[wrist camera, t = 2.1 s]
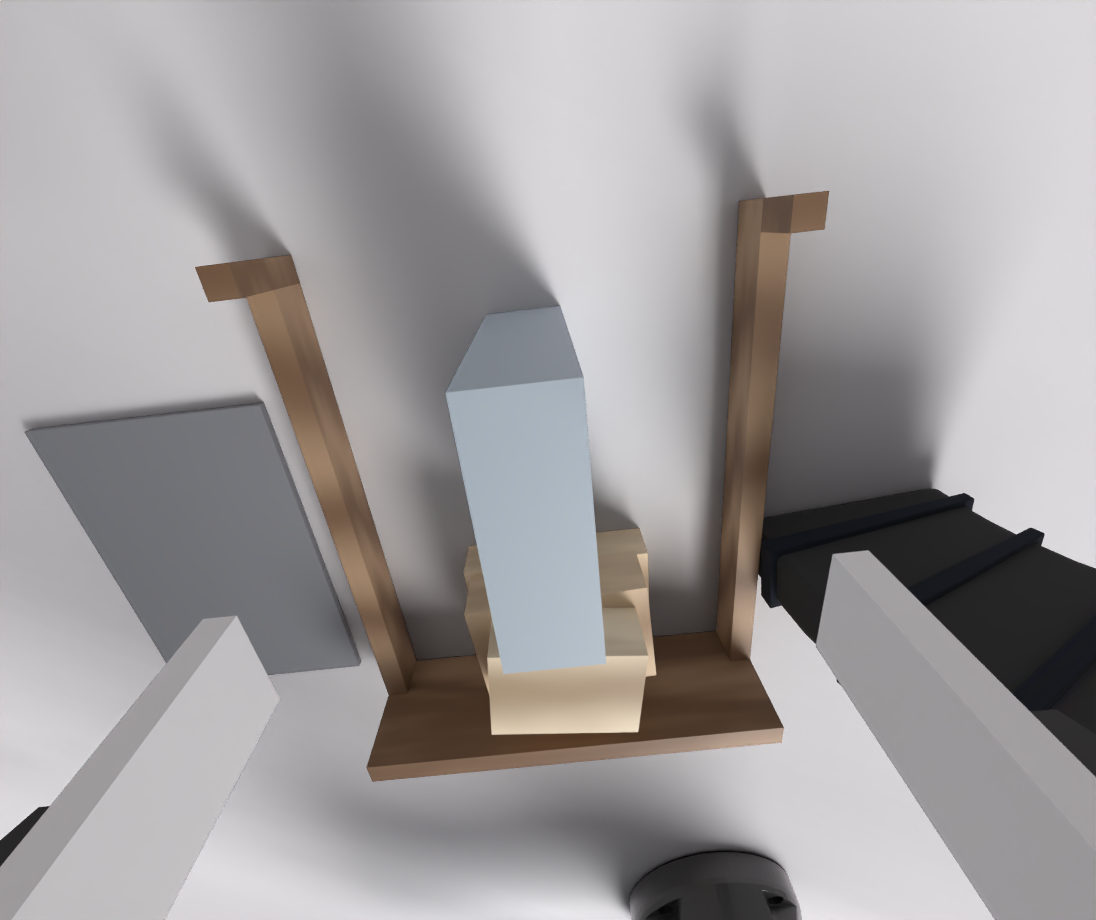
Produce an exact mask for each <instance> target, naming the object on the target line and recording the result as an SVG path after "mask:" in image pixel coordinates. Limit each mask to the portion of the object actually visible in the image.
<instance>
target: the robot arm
mask: <svg viewBox="0 0 1096 920" xmlns="http://www.w3.org/2000/svg"><path fill="white" fill-rule="evenodd" d="M816 648H817V649H818V651H819V652H820V654H821V655H822V657H823V658H824V660H825V661H826V663H827V665H828V666H829V668H830V669H831V671H832V672H833V674H834V675H835V677H836V678H837V680H838V681H839V683H840V684H841V686H842V687H843V689H844V690H845V692H846V693H847V695H848V697H849V698H850V700H851V701H852V703H853V704H854V706H855V707H856V709H857V710H858V712H859V713H860V715H861V716H862V718H863V719H864V721H865V722H866V724H867V725H868V727H869V729H870V730H871V732H872V733H873V735H874V736H875V738H876V739H877V741H878V742H879V744H880V745H881V747H882V748H883V750H884V751H885V753H886V754H887V756H888V757H889V759H890V761H891V762H892V764H893V765H894V767H895V768H896V770H897V771H898V773H899V774H900V776H901V777H902V779H903V780H904V782H905V783H906V785H907V786H908V788H909V790H910V791H911V793H912V794H913V796H914V797H915V799H916V800H917V802H918V803H919V805H920V806H921V808H922V809H923V811H924V812H925V814H926V815H927V817H928V818H929V820H930V822H931V823H932V825H933V826H934V828H935V829H936V831H937V832H938V834H939V835H940V837H941V838H942V840H943V841H944V843H945V844H946V846H947V847H948V849H949V850H950V852H951V854H952V855H953V857H954V858H955V860H956V861H957V863H958V864H959V866H960V867H961V869H962V870H963V872H964V873H965V875H966V876H967V878H968V879H969V881H970V882H971V884H972V886H973V887H974V889H975V890H976V892H977V893H978V895H979V896H980V898H981V899H982V901H983V902H984V904H985V905H986V907H987V908H988V910H989V911H990V913H991V914H992V916H993V918H994V919H995V920H1096V734H1095V733H1093V732H1091V731H1090V730H1088V729H1087V728H1085V727H1083V726H1082V725H1080V724H1079V723H1077V722H1076V721H1074V720H1072V719H1071V718H1069V717H1068V716H1066V715H1064V714H1063V713H1061V712H1060V711H1058V710H1057V709H1053V710H1042V711H1032V712H1030V711H1029V710H1028V709H1027V708H1026V707H1025V706H1024V705H1023V704H1022V703H1021V702H1020V701H1019V700H1018V699H1017V698H1016V697H1015V696H1014V695H1013V694H1012V693H1011V692H1010V691H1009V690H1008V689H1007V688H1006V687H1005V686H1004V685H1003V684H1002V683H1001V682H1000V681H999V680H998V679H997V678H996V677H995V676H994V675H993V674H992V673H991V672H990V671H989V670H988V669H987V668H986V667H985V666H984V665H983V664H982V663H981V662H980V661H979V660H978V659H977V658H976V657H975V656H974V655H973V654H972V653H971V652H970V651H969V650H968V649H967V648H966V647H965V646H964V645H963V644H962V643H961V642H960V641H959V640H958V639H957V638H956V637H955V636H954V635H953V634H952V633H951V632H950V631H949V630H948V629H947V628H946V627H945V626H944V625H943V624H942V623H941V622H940V621H939V620H938V619H937V618H936V617H935V616H934V615H933V614H932V613H931V612H930V611H929V610H928V609H927V608H926V607H925V606H924V605H923V604H922V603H921V602H920V601H919V600H918V599H917V598H916V597H915V596H914V595H913V594H912V593H911V592H910V591H909V590H908V589H907V588H906V587H905V586H904V585H903V584H902V583H901V582H900V581H899V580H898V579H897V578H896V577H895V576H894V575H893V574H892V573H891V572H890V571H889V570H888V569H887V568H886V567H885V566H884V565H883V564H882V563H881V562H880V561H879V560H878V559H877V558H876V557H875V556H874V555H873V554H872V553H871V552H870V551H869V550H867V551H858V552H848V553H838V554H833V555H832V560H831V565H830V571H829V576H828V582H827V587H826V593H825V598H824V603H823V609H822V614H821V620H820V625H819V631H818V636H817V641H816ZM279 700H280V698H279V696H278V694H277V693H276V691H275V689H274V687H273V685H272V683H271V681H270V679H269V677H268V675H267V673H266V671H265V669H264V667H263V665H262V663H261V662H260V660H259V658H258V656H257V654H256V652H255V650H254V648H253V646H252V644H251V642H250V640H249V638H248V636H247V634H246V632H245V631H244V629H243V627H242V625H241V623H240V621H239V619H238V617H237V616H227V617H218V618H208V619H203V620H202V621H201V622H200V623H199V625H198V626H197V627H196V628H195V629H194V631H193V632H192V633H191V634H190V636H189V637H188V638H187V639H186V640H185V642H184V643H183V644H182V645H181V647H180V648H179V649H178V650H177V651H176V653H175V654H174V655H173V656H172V658H171V659H170V660H169V661H168V662H167V664H166V665H165V666H164V667H163V669H162V670H161V671H160V672H159V673H158V675H157V676H156V677H155V678H154V680H153V681H152V682H151V683H150V684H149V686H148V687H147V688H146V689H145V691H144V692H143V693H142V694H141V695H140V697H139V698H138V699H137V700H136V702H135V703H134V704H133V705H132V706H131V708H130V709H129V710H128V711H127V713H126V714H125V715H124V716H123V717H122V719H121V720H120V721H119V722H118V724H117V725H116V726H115V727H114V728H113V730H112V731H111V732H110V733H109V735H108V736H107V737H106V738H105V739H104V741H103V742H102V743H101V744H100V746H99V747H98V748H97V749H96V750H95V752H94V753H93V754H92V755H91V757H90V758H89V759H88V760H87V761H86V763H85V764H84V765H83V766H82V768H81V769H80V770H79V771H78V772H77V774H76V775H75V776H74V777H73V779H72V780H71V781H70V782H69V783H68V785H67V786H66V787H65V788H64V790H63V791H62V792H61V793H60V794H59V796H58V797H57V798H56V799H55V801H54V802H53V803H52V804H51V805H50V806H47V807H38V808H37V809H36V810H35V811H34V812H33V813H32V814H30V815H29V816H28V817H27V818H26V819H25V820H23V821H22V822H21V823H20V824H19V825H18V826H16V827H15V828H14V829H13V830H12V831H11V832H10V833H8V834H7V835H6V836H5V837H4V838H3V839H1V840H0V920H165V918H166V916H167V915H168V913H169V911H170V909H171V907H172V905H173V903H174V901H175V899H176V897H177V895H178V894H179V892H180V890H181V888H182V886H183V884H184V882H185V880H186V878H187V876H188V874H189V872H190V871H191V869H192V867H193V865H194V863H195V861H196V859H197V857H198V855H199V853H200V851H201V850H202V848H203V846H204V844H205V842H206V840H207V838H208V836H209V834H210V832H211V830H212V829H213V827H214V825H215V823H216V821H217V819H218V817H219V815H220V813H221V811H222V809H223V807H224V806H225V804H226V802H227V800H228V798H229V796H230V794H231V792H232V790H233V788H234V786H235V785H236V783H237V781H238V779H239V777H240V775H241V773H242V771H243V769H244V767H245V765H246V763H247V762H248V760H249V758H250V756H251V754H252V752H253V750H254V748H255V746H256V744H257V742H258V741H259V739H260V737H261V735H262V733H263V731H264V729H265V727H266V725H267V723H268V721H269V719H270V718H271V716H272V714H273V712H274V710H275V708H276V706H277V704H278V702H279ZM629 905H630V912H631V919H632V920H802V917H801V910H800V906H799V903H798V900H797V898H796V895H795V893H794V890H793V887H792V885H791V882H790V880H789V877H788V875H787V874H786V872H785V871H784V870H783V869H782V868H781V867H780V866H778V865H777V864H776V863H774V862H772V861H770V860H768V859H765V858H762V857H759V856H756V855H751V854H745V853H735V852H717V853H706V854H699V855H694V856H690V857H686V858H682V859H679V860H676V861H673V862H670V863H668V864H666V865H663V866H661V867H659V868H657V869H656V870H654V871H652V872H651V873H649V874H648V875H646V876H645V877H644V878H643V879H642V880H641V881H640V882H639V883H638V884H637V885H636V886H635V888H634V889H633V891H632V893H631V896H630V900H629Z"/></svg>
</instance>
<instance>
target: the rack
mask: <svg viewBox="0 0 1096 920" xmlns="http://www.w3.org/2000/svg"><path fill="white" fill-rule="evenodd" d="M828 196H829V191H823V192H814V193H805V194H796V195H787V196H778V197H769V198H761V199H752V200H744V201H739V212H738V231H737V250H736V269H735V287H734V306H733V325H732V344H731V363H730V382H729V401H728V420H727V438H726V457H725V476H724V495H723V514H722V533H721V552H720V570H719V589H718V608H717V627H716V631H709V632H699V633H689V634H679V635H669V636H659V637H652V638H653V647H654V657H655V666H656V675H654V676H647V677H646V678H645V685H644V693H643V700H642V708H641V715H640V723H639V730H638V732H616V733H558V734H500V735H492V731H491V714H490V697H489V692H488V689H487V686H486V683H485V680H484V677H483V673H482V670H481V667H480V664H479V661H478V658H477V655H471V656H461V657H451V658H441V659H431V660H421V661H417V660H416V657H415V654H414V651H413V647H412V644H411V641H410V638H409V634H408V631H407V628H406V625H405V622H404V618H403V615H402V612H401V609H400V605H399V602H398V599H397V596H396V592H395V589H394V586H393V583H392V579H391V576H390V573H389V570H388V567H387V563H386V560H385V557H384V554H383V550H382V547H381V544H380V541H379V537H378V534H377V531H376V528H375V524H374V521H373V518H372V515H371V512H370V508H369V505H368V502H367V499H366V495H365V492H364V489H363V486H362V482H361V479H360V476H359V473H358V470H357V466H356V463H355V460H354V457H353V453H352V450H351V447H350V444H349V440H348V437H347V434H346V431H345V427H344V424H343V421H342V418H341V415H340V411H339V408H338V405H337V402H336V398H335V395H334V392H333V389H332V385H331V382H330V379H329V376H328V373H327V369H326V366H325V363H324V360H323V356H322V353H321V350H320V347H319V343H318V340H317V337H316V334H315V330H314V327H313V324H312V321H311V318H310V314H309V311H308V308H307V305H306V301H305V298H304V295H303V292H302V288H301V285H300V282H299V279H298V276H297V272H296V269H295V266H294V263H293V259H292V256H291V255H286V256H278V257H270V258H262V259H254V260H246V261H238V262H230V263H223V264H215V265H207V266H199V267H195V269H196V271H197V274H198V276H199V279H200V281H201V284H202V286H203V289H204V292H205V294H206V297H207V299H208V302H215V301H223V300H232V299H240V298H245V297H246V298H247V300H248V303H249V306H250V309H251V312H252V314H253V317H254V320H255V323H256V326H257V328H258V331H259V334H260V337H261V340H262V342H263V345H264V348H265V351H266V354H267V356H268V359H269V362H270V365H271V368H272V370H273V373H274V376H275V379H276V381H277V384H278V387H279V390H280V393H281V395H282V398H283V401H284V404H285V407H286V409H287V412H288V415H289V418H290V421H291V423H292V426H293V429H294V432H295V435H296V437H297V440H298V443H299V446H300V449H301V451H302V454H303V457H304V460H305V462H306V465H307V468H308V471H309V474H310V476H311V479H312V482H313V485H314V488H315V490H316V493H317V496H318V499H319V502H320V504H321V507H322V510H323V513H324V516H325V518H326V521H327V524H328V527H329V530H330V532H331V535H332V538H333V541H334V543H335V546H336V549H337V552H338V555H339V557H340V560H341V563H342V566H343V569H344V571H345V574H346V577H347V580H348V583H349V585H350V588H351V591H352V594H353V597H354V599H355V602H356V605H357V608H358V611H359V613H360V616H361V619H362V622H363V624H364V627H365V630H366V633H367V636H368V638H369V641H370V644H371V647H372V650H373V652H374V655H375V658H376V661H377V664H378V666H379V669H380V672H381V675H382V678H383V680H384V683H385V686H386V689H387V692H388V694H389V696H388V700H387V703H386V706H385V709H384V713H383V716H382V719H381V722H380V726H379V729H378V732H377V735H376V739H375V742H374V745H373V749H372V752H371V755H370V758H369V762H368V765H367V770H368V772H369V775H370V777H371V779H372V782H373V781H383V780H394V779H404V778H415V777H425V776H436V775H446V774H457V773H467V772H478V771H488V770H499V769H509V768H520V767H530V766H541V765H551V764H562V763H572V762H583V761H593V760H604V759H614V758H625V757H635V756H646V755H656V754H667V753H677V752H688V751H698V750H709V749H719V748H730V747H740V746H751V745H761V744H772V743H782V737H783V730H784V727H783V725H782V723H781V721H780V719H779V717H778V715H777V713H776V711H775V709H774V707H773V705H772V703H771V701H770V699H769V697H768V695H767V693H766V691H765V689H764V687H763V685H762V683H761V681H760V679H759V677H758V675H757V673H756V671H755V669H754V667H753V665H752V663H751V661H750V653H751V643H752V632H753V622H754V611H755V601H756V590H757V580H758V569H759V559H760V548H761V538H762V527H763V517H764V507H765V496H766V486H767V475H768V465H769V454H770V444H771V433H772V423H773V412H774V402H775V391H776V381H777V371H778V360H779V350H780V339H781V329H782V318H783V308H784V297H785V287H786V276H787V266H788V255H789V245H790V235H791V233H798V232H806V231H814V230H823V229H825V220H826V212H827V204H828Z"/></svg>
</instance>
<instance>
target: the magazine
mask: <svg viewBox="0 0 1096 920" xmlns="http://www.w3.org/2000/svg"><path fill="white" fill-rule="evenodd" d="M973 503H974V498H972V497H971V496H969V495H967V494H965V493H963V494H959V495H954V496H950V497H949V496H947V495H946V494H944V493H942V492H941V491H939V490H937V489H926V490H920V491H914V492H909V493H903V494H898V495H892V496H886V497H881V498H875V499H869V500H864V501H858V502H853V503H847V504H841V505H836V506H830V507H824V508H819V509H813V510H808V511H802V512H796V513H791V514H785V515H779V516H774V517H768V518H763V527H762V538H761V548H760V559H759V569H758V574H759V576H760V577H761V595H762V597H763V598H764V600H765V601H766V603H767V604H768V605H769V607H770V608H774V607H777V606H781V605H782V606H783V607H784V609H785V610H786V611H787V612H788V614H789V615H790V616H791V617H792V618H793V620H794V621H795V622H796V623H797V624H798V626H799V627H800V628H801V629H802V631H803V632H804V633H805V634H806V635H807V636H808V637H809V638H810V639H811V640H812V641H813V642H814V643H815V644H816V641H817V636H818V631H819V625H820V620H821V614H822V609H823V603H824V598H825V593H826V587H827V582H828V576H829V571H830V565H831V560H832V555H833V554H838V553H848V552H858V551H867V550H869V551H870V552H871V553H872V554H873V555H874V556H875V557H876V558H877V559H878V560H879V561H880V562H881V563H882V564H883V565H884V566H885V567H886V568H887V569H888V570H889V571H890V572H891V573H892V574H893V575H894V576H895V577H896V578H897V579H898V580H899V581H900V582H901V583H902V584H903V585H904V586H905V587H906V588H907V589H908V590H909V591H910V592H911V593H912V594H913V595H914V596H915V597H916V598H917V599H918V600H919V601H920V602H921V603H922V604H923V605H924V606H925V607H926V608H927V609H928V610H929V611H930V612H931V613H932V614H933V615H934V616H935V617H936V618H937V619H938V620H939V621H940V622H941V623H942V624H943V625H944V626H945V627H946V628H947V629H948V630H949V631H950V632H951V633H952V634H953V635H954V636H955V637H956V638H957V639H958V640H959V641H960V642H961V643H962V644H963V645H964V646H965V647H966V648H967V649H968V650H969V651H970V652H971V653H972V654H973V655H974V656H975V657H976V658H977V659H978V660H979V661H980V662H981V663H982V664H983V665H984V666H985V667H986V668H987V669H988V670H989V671H990V672H991V673H992V674H993V675H994V676H995V677H996V678H997V679H998V680H999V681H1000V682H1001V683H1002V684H1003V685H1004V686H1005V687H1006V688H1007V689H1008V690H1009V691H1010V692H1011V693H1012V694H1013V695H1014V696H1015V697H1016V698H1017V699H1018V700H1019V701H1020V702H1021V703H1022V704H1023V705H1024V706H1025V707H1026V708H1027V709H1028V710H1029V711H1030V712H1032V711H1042V710H1053V709H1057V710H1058V711H1060V712H1061V713H1063V714H1064V715H1066V716H1068V717H1069V718H1071V719H1072V720H1074V721H1076V722H1077V723H1079V724H1080V725H1082V726H1083V727H1085V728H1087V729H1088V730H1090V731H1091V732H1093V733H1095V734H1096V568H1093V567H1090V566H1087V565H1085V564H1082V563H1079V562H1076V561H1074V560H1072V559H1069V558H1067V557H1065V556H1063V555H1060V554H1058V553H1056V552H1054V551H1051V550H1049V549H1047V548H1044V547H1042V546H1041V545H1042V541H1043V538H1044V533H1042V532H1040V531H1038V530H1035V529H1033V528H1029V529H1027V530H1025V531H1023V532H1021V533H1019V534H1017V535H1016V534H1014V533H1012V532H1010V531H1008V530H1006V529H1004V528H1002V527H1000V526H998V525H996V524H994V523H992V522H991V521H989V520H987V519H985V518H983V517H982V516H980V515H978V514H976V513H975V512H973V511H972V508H973ZM837 682H838V683H839V681H838V680H837ZM839 684H840V683H839ZM840 685H841V684H840Z"/></svg>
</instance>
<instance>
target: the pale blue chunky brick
mask: <svg viewBox="0 0 1096 920" xmlns="http://www.w3.org/2000/svg"><path fill="white" fill-rule="evenodd" d="M445 394H446V398H447V403H448V408H449V413H450V418H451V423H452V427H453V432H454V437H455V442H456V447H457V452H458V456H459V461H460V466H461V471H462V476H463V481H464V485H465V490H466V495H467V500H468V505H469V510H470V515H471V519H472V524H473V529H474V534H475V539H476V544H477V548H478V553H479V558H480V563H481V568H482V573H483V577H484V582H485V587H486V592H487V597H488V602H489V606H490V611H491V616H492V621H493V626H494V631H495V635H496V640H497V645H498V650H499V655H500V660H501V664H502V669H503V674H510V673H520V672H530V671H540V670H550V669H560V668H570V667H580V666H590V665H600V664H606V654H605V641H604V628H603V616H602V603H601V591H600V578H599V565H598V553H597V540H596V527H595V515H594V502H593V489H592V477H591V464H590V452H589V439H588V426H587V414H586V401H585V388H584V377H583V374H582V371H581V368H580V365H579V362H578V359H577V356H576V352H575V349H574V346H573V343H572V340H571V337H570V334H569V331H568V328H567V325H566V322H565V319H564V316H563V313H562V310H561V307H560V306H553V307H545V308H536V309H528V310H519V311H511V312H502V313H493V314H486V316H485V318H484V320H483V322H482V323H481V325H480V327H479V329H478V331H477V333H476V335H475V337H474V339H473V341H472V343H471V345H470V346H469V348H468V350H467V352H466V354H465V356H464V358H463V360H462V362H461V364H460V366H459V368H458V369H457V371H456V373H455V375H454V377H453V379H452V381H451V383H450V385H449V387H448V389H447V391H446V393H445Z"/></svg>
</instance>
